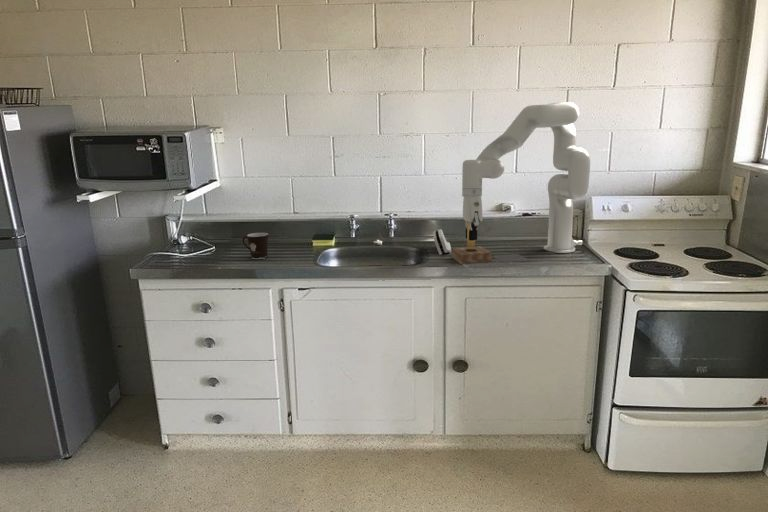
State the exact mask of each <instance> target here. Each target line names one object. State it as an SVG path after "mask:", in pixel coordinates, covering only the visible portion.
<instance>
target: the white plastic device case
mask: <svg viewBox="0 0 768 512" xmlns="http://www.w3.org/2000/svg"><path fill="white" fill-rule="evenodd" d="M432 237H433V241H434V244H435V247H436V249H437V252H438V255H440V256H441V255H443V254H447V253H449V255H451V256H452V247H451V243H450V242H449V241H447V240H446V237H445V235H444V232H443V229H442V228H440V229H438V230H437V231H436V230H434V231H432Z"/></svg>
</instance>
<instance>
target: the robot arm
mask: <svg viewBox="0 0 768 512" xmlns="http://www.w3.org/2000/svg"><path fill="white" fill-rule="evenodd" d="M579 110H580V109H579V107H578V106H577V104H575V103H574V102H571V101H567V102H566V101H565V102H551V103H547V104H533V105H526V106H525V107H523V109H522V110H521V111H520V112H519V114H518V115H517V116H516V117H515V119H514V120H513V121H512V122H511V124H510V125H509V126H508V127H507V128H506V130H505V131H504V132H503V133H502V134H501V135H499V136H498V137H497V138H496V139H494V140H493V141H492V142H490V143H489V144H488V145H487V146H486V147H485V148H484V149H483V150H482V151H481V153H480V154H479V155H478V156H477V157H476V159H466V160H464V161H463V162H462V173H461V174H462V175H461V176H462V177H461V178H462V182H461V184H462V185H461V187H462V189H461V196H462V197H463V201H462V218H463V220H464V223H465V239H466V240H467V222H470V230H469V240H475V241H477V240H478V229H479V225H480V223H482V222H483V202H482V196H483V179H490V180H492V179H493V180H494V179H497V178H500V177H501V176H502V175H503V174H504V172H505V166H504V163H503V162H502V161H501V160H500V159H501V158H502V157H504V156H505V155H506V154H509V153H511V152H514V151H515V150H518V149H520V148H521V147H522V146H523V145H524V143H526V141H527V140H528V138H530V137H531V135H532V134H533V132H534V131H535V130H536V129H539V128H540V129H543V128H545V129H546V128H550V129H551V131H552V133H553V150H552V151H553V154H552V164H553V167H554V168H555V169H557V170H559V171H561V172H567V174H566V173H559V174H557V173H556V174H555V175H552V176H551V177H550V178H549V181H548V182H547V193H548V203H549V204H548V205H549V207H548V226H547V228H548V229H547V231H548V232H547V244H546V245H544V246H543V250H545V251H548V252H550V253H556V254H568V253H573V252H575V251H576V246H582V245H583V240H581V239H580V240H579V239H578V240H576V239H573V225H574V224H573V223H574V222H573V221H574V203H573V201H578V200H582V199H584V197H585V196H586V195H587V194H588V190H589V184H590V172H591V157H590V154H589V153H588V151H587V150H586V149H584V147H577V131H576V127H575V125H574V123H575V122H576V121H577V120H578V118H579V116H580V111H579ZM472 221H475V222H472ZM472 224H473V225H472Z"/></svg>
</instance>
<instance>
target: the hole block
mask: <svg viewBox="0 0 768 512" xmlns="http://www.w3.org/2000/svg"><path fill="white" fill-rule="evenodd" d="M492 254H493V253H492V252H491V251H489V250H488V249H486V248H484V247H483V246H475V247H472V248H470V247H467V246H466V247H463V246H462V247H454V248H453V247H451V259H453V260H454V261H456V262H457V263H458V262H459V264H460V265H461V264H462V266H464V265H463V264H473V263H485V262H486V263H487V262H492V259H493V258H492V257H493V255H492Z"/></svg>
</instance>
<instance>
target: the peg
mask: <svg viewBox="0 0 768 512" xmlns="http://www.w3.org/2000/svg"><path fill="white" fill-rule="evenodd" d="M472 222H475V221H472ZM472 225H473V224H472ZM469 230H470V222H467V239H466V243H467V244H466V247H470V248H472V247H476V240H469Z"/></svg>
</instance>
